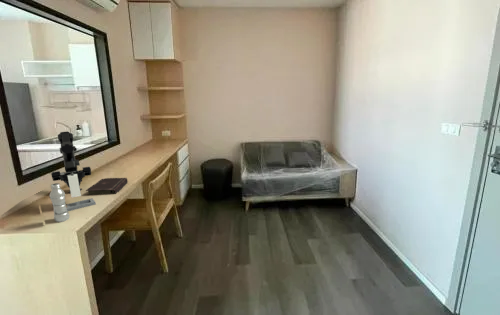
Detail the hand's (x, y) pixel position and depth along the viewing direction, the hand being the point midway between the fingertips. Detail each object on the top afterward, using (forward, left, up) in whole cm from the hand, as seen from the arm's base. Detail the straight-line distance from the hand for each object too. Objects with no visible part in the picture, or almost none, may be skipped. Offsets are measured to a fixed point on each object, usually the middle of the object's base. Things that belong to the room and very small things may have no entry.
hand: (74, 186), depth 152 cm
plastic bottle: (+15, -3, -14) cm, 21 cm away
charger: (-1, 0, -6) cm, 6 cm away
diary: (-30, +10, -14) cm, 34 cm away
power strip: (-1, 0, -13) cm, 13 cm away
